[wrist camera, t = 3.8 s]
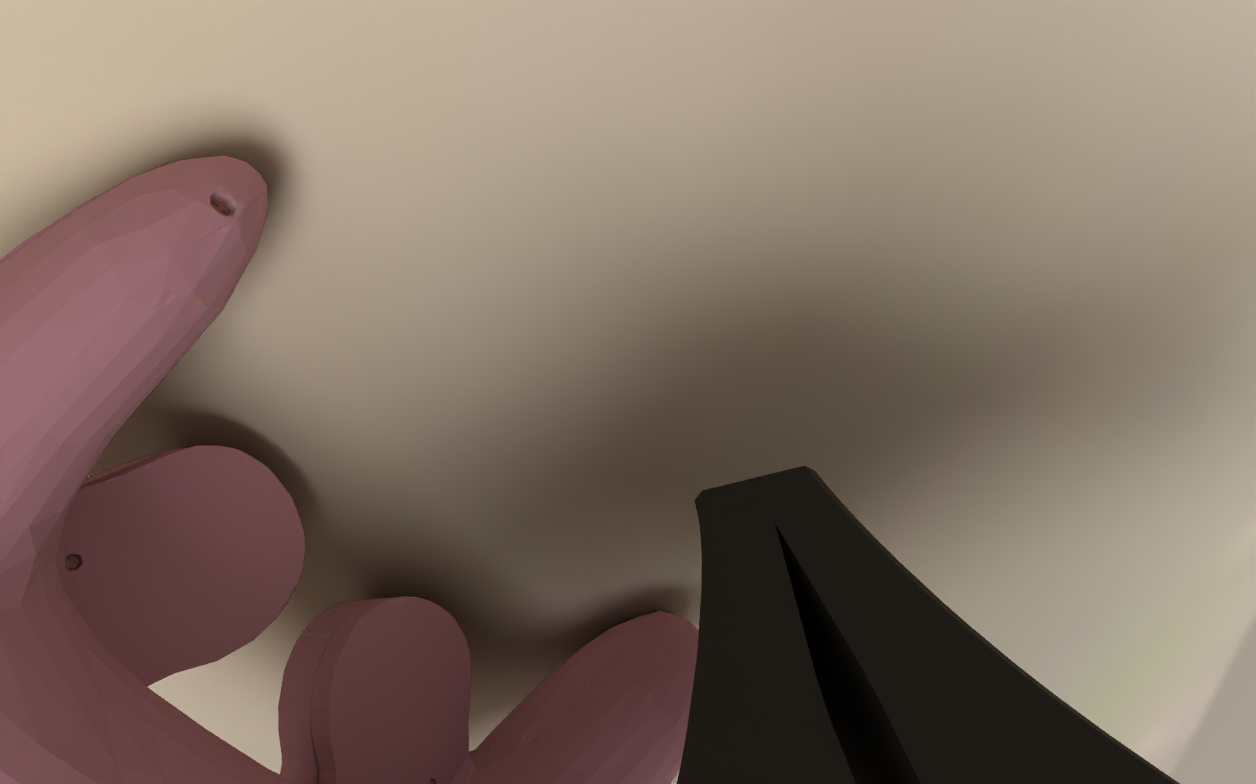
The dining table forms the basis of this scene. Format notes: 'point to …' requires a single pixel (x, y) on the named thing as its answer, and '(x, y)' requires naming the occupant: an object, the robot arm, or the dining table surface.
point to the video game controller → (233, 553)
